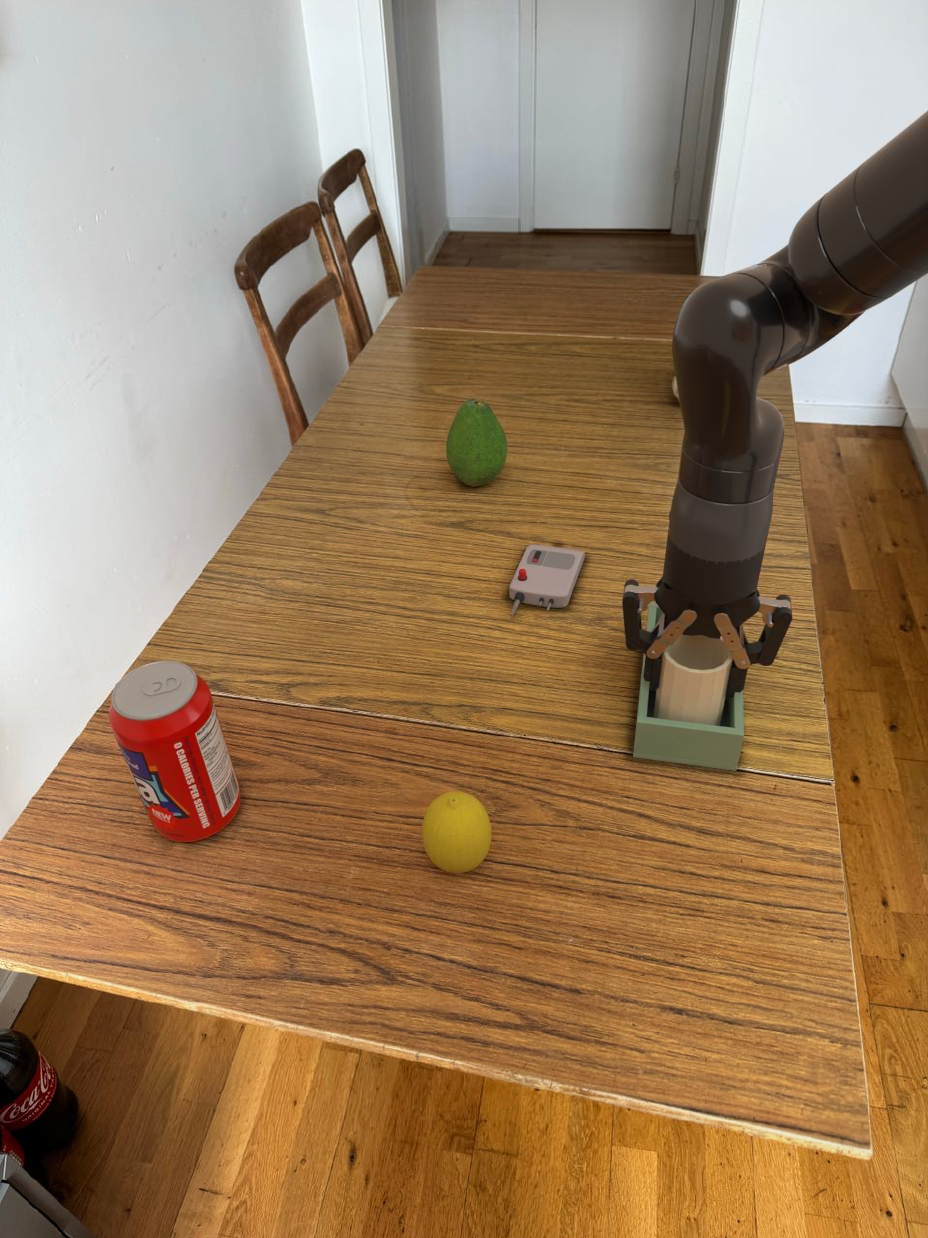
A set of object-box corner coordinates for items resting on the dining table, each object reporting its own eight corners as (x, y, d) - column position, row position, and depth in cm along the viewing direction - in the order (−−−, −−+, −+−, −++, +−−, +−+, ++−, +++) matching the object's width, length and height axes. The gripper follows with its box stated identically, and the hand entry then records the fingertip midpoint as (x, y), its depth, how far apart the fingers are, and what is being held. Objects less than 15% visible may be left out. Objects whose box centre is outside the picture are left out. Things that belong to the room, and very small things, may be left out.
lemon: (451, 825, 76) (446, 762, 71) (505, 855, 73) (504, 792, 68) (411, 871, 73) (403, 808, 68) (467, 904, 70) (462, 841, 65)
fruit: (492, 462, 124) (490, 381, 117) (517, 488, 119) (517, 405, 111) (439, 475, 122) (433, 394, 114) (462, 503, 116) (458, 418, 109)
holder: (736, 771, 79) (744, 735, 76) (632, 757, 81) (636, 721, 78) (734, 645, 92) (741, 610, 89) (645, 635, 94) (649, 601, 91)
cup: (729, 716, 83) (744, 643, 78) (701, 755, 80) (714, 682, 74) (671, 691, 86) (681, 619, 81) (641, 728, 83) (650, 655, 77)
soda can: (250, 831, 76) (212, 706, 67) (157, 860, 74) (104, 736, 65) (235, 767, 82) (198, 644, 73) (148, 792, 80) (99, 669, 71)
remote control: (587, 549, 107) (589, 528, 105) (558, 630, 95) (559, 608, 94) (534, 542, 109) (534, 521, 107) (498, 620, 97) (498, 598, 95)
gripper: (620, 548, 68) (607, 705, 79) (818, 566, 65) (777, 726, 76) (628, 498, 74) (615, 650, 84) (810, 512, 71) (773, 668, 82)
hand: (692, 686), depth 80 cm, fingers closed on cup, 6 cm apart
